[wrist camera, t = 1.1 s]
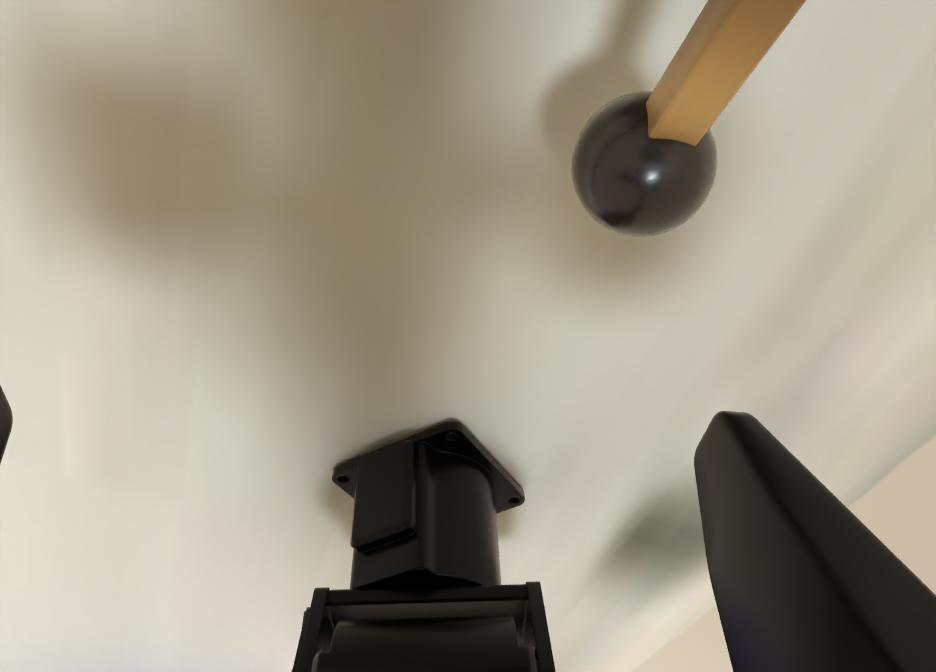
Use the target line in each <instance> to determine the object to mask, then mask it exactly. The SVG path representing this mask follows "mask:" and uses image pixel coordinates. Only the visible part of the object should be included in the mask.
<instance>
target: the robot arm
mask: <svg viewBox="0 0 936 672" xmlns="http://www.w3.org/2000/svg"><path fill="white" fill-rule="evenodd" d="M12 422H13V416H12V411H11V408H10V405H9V403H8V401H7V399H6V397H5V394H4V392H3V390H2V388H1V386H0V464H1V460H2V457H3V454H4V451H5V448H6V445H7V441H8V438H9V435H10V432H11V428H12ZM694 468H695V475H696V483H697V490H698V498H699V505H700V513H701V520H702V528H703V535H704V543H705V550H706V557H707V563H708V569H709V574H710V579H711V583H712V588H713V592H714V596H715V600H716V604H717V608H718V612H719V615H720V620H721V624H722V628H723V632H724V636H725V640H726V643H727V648H728V652H729V655H730V660H731V664H732V667H733V672H936V595H935V594H934V593H933V592H932V591H931V590H930V589H929V588H928V587H927V586H926V585H925V584H924V583H923V582H922V581H921V580H920V579H919V578H918V577H917V576H916V575H915V574H914V573H913V572H912V571H911V570H910V569H908V567H907V566H906V565H904V564H903V563H902V561H900V560H899V559H898V558H897V557H896V556H895V555H894V554H893V553H892V552H891V551H890V550H889V549H888V548H887V547H886V546H885V545H884V544H883V543H882V542H881V541H880V540H879V539H878V538H877V537H876V536H875V535H874V534H873V533H872V532H871V531H870V530H869V529H868V528H867V527H866V526H865V525H864V524H863V523H862V522H861V521H860V520H859V519H858V518H857V517H856V516H855V515H854V514H853V513H851V511H850V510H849V509H847V508H846V507H845V506H844V505H843V504H842V503H841V502H840V501H839V500H838V499H837V498H836V497H835V496H834V495H833V494H832V493H831V492H830V491H829V490H828V489H827V488H826V487H825V486H824V485H823V484H822V483H821V482H820V481H819V480H818V479H817V478H816V477H815V476H814V475H813V474H812V473H811V472H810V471H809V470H808V469H807V468H806V467H805V466H804V465H803V464H802V463H801V462H800V461H799V460H798V459H797V458H796V457H795V456H793V455H792V454H791V453H790V452H789V451H788V450H787V449H786V448H785V447H784V446H783V445H782V444H781V443H780V442H779V441H778V440H777V439H776V438H775V437H774V436H773V435H772V434H771V433H770V432H769V431H768V430H767V429H766V428H765V427H764V426H763V425H762V424H761V423H760V422H759V421H758V420H757V419H756V418H755V417H753V416H752V415H750V414H748V413H745V412H731V411H721V412H719V413H717V414H716V415H715V416H714V417H713V419H712V421H711V423H710V424H709V426H708V428H707V430H706V432H705V434H704V435H703V437H702V439H701V441H700V443H699V445H698V446H697V449H696V452H695V457H694ZM332 481H333V482H334V483H335V484H336V485H338V486H339V487H340V488H341V489H343V490H344V491H345V492H346V493H348V494H349V495H350V496H351V497H353V498H354V510H353V520H352V531H351V541H350V544H351V547H353V548H354V550H353V561H352V572H351V583H350V589H346V590H330V588H315V590H314V594H313V598H312V602H311V607H308V608H307V610H306V611H304V617H303V624H302V631H301V636H300V640H299V644H298V648H297V653H296V657H295V661H294V666H293V669H292V672H555V666H554V661H553V655H552V649H551V643H550V637H549V632H548V626H547V620H546V614H545V608H544V603H543V597H542V591H541V585H540V582H526V584H523V585H501V576H500V561H499V547H498V532H497V518H496V513H499V512H502V511H505V510H508V509H511V508H513V507H516V506H519V505H521V504H523V503H524V500H525V497H524V491H523V489H522V488H521V487H520V486H519V485H518V484H517V483H516V482H515V481H514V480H513V479H512V478H511V477H510V476H509V474H508V473H507V472H506V471H505V470H504V469H503V468H502V467H501V466H500V465H499V464H498V463H497V462H496V461H495V460H494V458H493V457H492V456H491V455H490V454H489V453H488V452H487V451H486V450H485V449H484V448H483V447H482V446H481V445H480V444H479V442H478V441H477V440H476V439H475V438H474V437H473V436H472V435H471V434H470V433H469V432H468V431H467V430H466V429H465V428H464V426H463V425H461V424H460V423H458V422H455V421H449V422H445V423H443V424H440V425H438V426H435V427H433V428H430V429H428V430H425V431H423V432H420V433H418V434H415V435H413V436H410V437H408V438H405V439H403V440H400V441H398V442H395V443H393V444H390V445H388V446H385V447H383V448H381V449H378V450H376V451H373V452H371V453H368V454H366V455H363V456H361V457H358V458H356V459H353V460H351V461H348V462H346V463H343V464H341V465H338V466H336V467H335V468H334V469H333V475H332Z"/></svg>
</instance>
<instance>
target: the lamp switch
mask: <svg viewBox="0 0 936 672" xmlns="http://www.w3.org/2000/svg"><path fill="white" fill-rule="evenodd" d="M805 1H806V0H708V2H707V3H706V5H705V7H704V8H703V10H702V12H701V13H700V15H699V17H698V18H697V20H696V21H695V23H694V25H693V26H692V28H691V30H690V31H689V33H688V35H687V36H686V38H685V40H684V41H683V43H682V44H681V46H680V48H679V49H678V51H677V53H676V54H675V56H674V58H673V59H672V61H671V63H670V64H669V66H668V68H667V69H666V71H665V72H664V74H663V76H662V77H661V79H660V81H659V82H658V84H657V86H656V87H655V89H654V91H644V92H635V93H631V94H627V95H624V96H621V97H619V98H616V99H614V100H613V101H611V102H609V103H608V104H606V105H605V106H603V107H602V108H600V109H599V110H598V111H597V112H596V113H595V114H594V115H593V116H592V117H591V118H590V119H589V121H588V122H587V123H586V125H585V126H584V128H583V129H582V131H581V133H580V135H579V137H578V140H577V142H576V144H575V148H574V152H573V157H572V179H573V184H574V188H575V191H576V193H577V196H578V198H579V200H580V202H581V204H582V205H583V207H584V208H585V210H586V211H587V212H588V213H589V214H590V215H591V216H592V217H593V218H594V219H595V220H596V221H597V222H598V223H600V224H601V225H603V226H604V227H606V228H607V229H609V230H612V231H614V232H617V233H619V234H623V235H628V236H638V237H645V236H653V235H658V234H661V233H665V232H668V231H670V230H672V229H674V228H676V227H678V226H679V225H681V224H683V223H684V222H686V221H687V220H688V219H689V218H691V217H692V216H693V215H694V214H695V213H696V212H697V211H698V210H699V208H700V207H701V206H702V204H703V203H704V201H705V200H706V198H707V196H708V194H709V192H710V190H711V188H712V185H713V182H714V179H715V175H716V169H717V151H716V146H715V141H714V138H713V135H712V133H711V130H710V127H711V125H712V124H713V123H714V121H715V120H716V119H717V117H718V116H719V115H720V113H721V112H722V111H723V110H724V108H725V107H726V106H727V104H728V103H729V102H730V100H731V99H732V98H733V96H734V95H735V94H736V92H737V91H738V90H739V88H740V87H741V86H742V84H743V83H744V82H745V80H746V79H747V78H748V76H749V75H750V74H751V72H752V71H753V70H754V68H755V67H756V66H757V65H758V63H759V62H760V61H761V59H762V58H763V57H764V55H765V54H766V53H767V51H768V50H769V49H770V47H771V46H772V45H773V43H774V42H775V41H776V39H777V38H778V37H779V35H780V34H781V33H782V31H783V30H784V29H785V27H786V26H787V25H788V23H789V22H790V21H791V20H792V18H793V17H794V16H795V14H796V13H797V12H798V10H799V9H800V8H801V6H802V5H803V4H804V2H805Z"/></svg>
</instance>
